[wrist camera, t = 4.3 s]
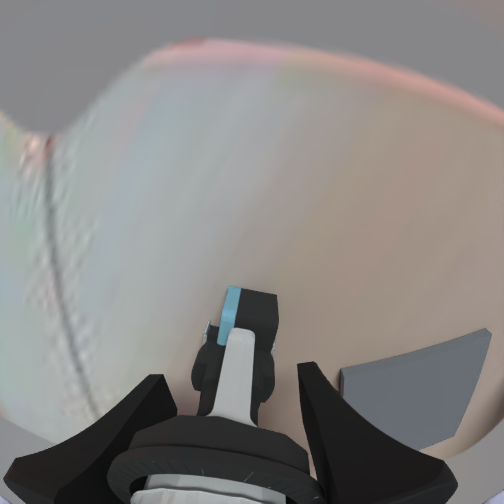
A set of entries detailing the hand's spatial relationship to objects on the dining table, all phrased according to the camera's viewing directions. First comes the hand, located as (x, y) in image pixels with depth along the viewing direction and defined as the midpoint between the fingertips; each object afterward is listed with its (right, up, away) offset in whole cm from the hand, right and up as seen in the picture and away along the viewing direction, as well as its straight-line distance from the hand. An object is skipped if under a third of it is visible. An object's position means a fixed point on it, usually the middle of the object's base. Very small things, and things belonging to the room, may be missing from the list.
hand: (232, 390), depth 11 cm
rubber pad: (+11, -5, +5) cm, 13 cm away
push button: (0, +1, +3) cm, 4 cm away
